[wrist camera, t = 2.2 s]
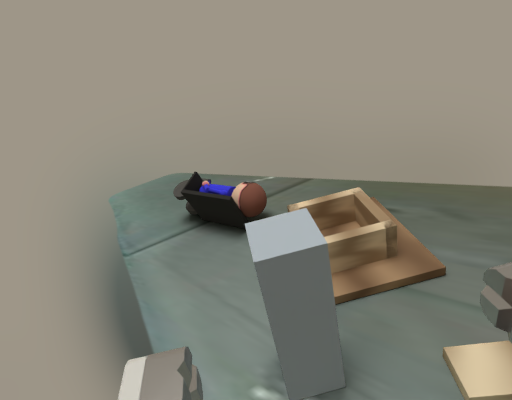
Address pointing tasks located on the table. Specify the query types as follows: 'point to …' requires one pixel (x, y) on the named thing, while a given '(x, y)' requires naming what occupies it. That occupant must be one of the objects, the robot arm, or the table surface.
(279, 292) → the block
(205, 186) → the character figurine
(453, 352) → the wing slat
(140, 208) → the table surface
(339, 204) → the cradle jig
